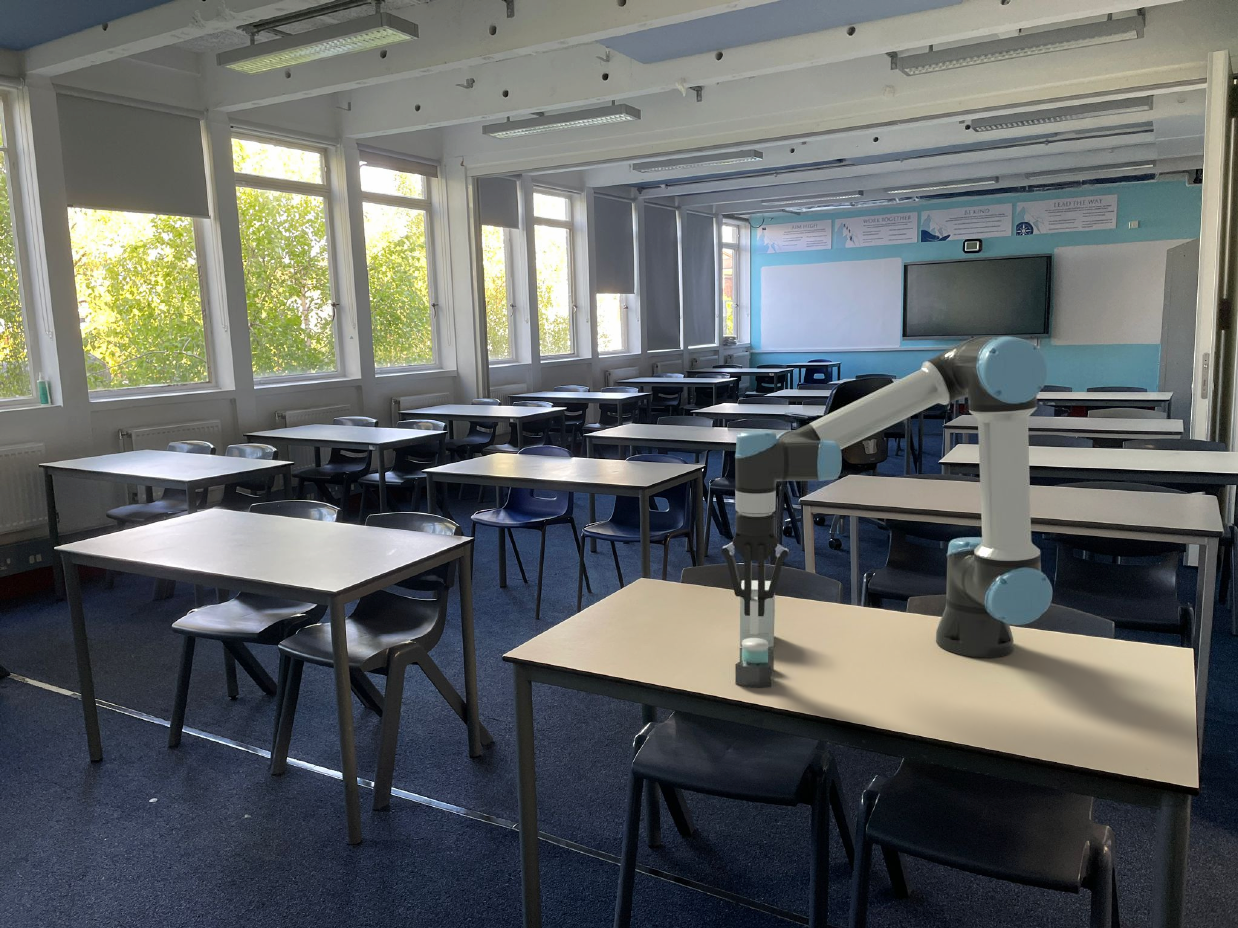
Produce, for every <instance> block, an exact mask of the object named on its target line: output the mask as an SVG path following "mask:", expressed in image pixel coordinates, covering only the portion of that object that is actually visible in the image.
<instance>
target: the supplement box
mask: <svg viewBox="0 0 1238 928" xmlns="http://www.w3.org/2000/svg"><path fill="white" fill-rule="evenodd" d="M770 582H771V580H765V591H767V590H769V586H770ZM740 583H741V587H742V589H744V579H743V580H741V582H740ZM751 593H752V594H751V597H758V580H752V591H751ZM775 605H776V592H775V593H774V597H773V598H768V599H766V600H765V613H764V616H763V617H761V616H759V631H758V634H750V616H745V614H744V599H743V598H742V597H739V645H740V646H742V641H743V640H744V639H748V638H760V639H764V640H766V641H767V642H768V648H773V647H774V643H775V615H776V614H775V612H776V610H775V609H776V608H775V607H776V606H775Z"/></svg>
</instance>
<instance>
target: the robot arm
mask: <svg viewBox="0 0 1238 928" xmlns="http://www.w3.org/2000/svg"><path fill="white" fill-rule="evenodd" d="M921 365H922V366H921V368H920V369H919V370H917V371H915V372H912V373H911V374H908V375H906V376H905V377H902V378H901V379H897V380H896V381H894V382H892V383H890V384H888V385H885V386H884V387H881V388H879V389H878V390H877V389H876V391H874V392H871V393H869V394H868V395H866V396H863V397H861V398H859V399H857V400H855V401H852V402H851V403H849V404H847V405H845V406H842V407H840V408H839V409H837V410H834V411H832V412H830V413H829V414H826V415H824V416H822V417H820V418H818V419H816V420H814V421H812V422H810V423H809V424H806V425H804V426H801V427H800V428H797V429H795V430H787V431H783V432H781V433H779V434H777V433H776V432H775V431H772V430H764V429H763V430H760V429H758V430H757V429H751V430H750V429H749V430H744V431H741V432H739V433H738V434H737V435H736V445H735V454H734V458H735V490H734V491H735V492H734V493H735V497H734V498H735V501H734V502H735V503H734V505H735V506H734V507H735V509H734V510H735V511H737V512H736V513H735V514H734V515H735V516H734V518H735V522H734V525H735V526H734V527H735V528H734V533H735V534H734V537H733V539H732V541H731V542H730V543H729V544H727V545H723V546H722V548H721V554H722V556H723V557H724V558H725V560H726V564H727V568H728V572H729V577H730V580H731V584H732V588H733V592H734V595H735V597H737V598H738V597H739V598H740V597H742V598H743V599H744V614H745V616H750V634H758V631H759V616H761V617H763V616H764V613H765V600H766V599H768V598H773V597H774V593H775V594H776V589H777V585H778V581H779V579H780V578H779V577H780V575H781V570H782V567H783V563H784V562H785V560H786V559H787V557H788V556H789V551H790V549H789V548H788V547H783V545H781V544H780V543H778V542H779V540H778V538H777V535H776V514H775V513H774V512H775V511H776V499H777V498H776V497H777V496H776V495H777V494H776V491H777V490H776V485H777V482H787V481H790V482H795V481H796V482H801V481H802V482H803V481H805V482H806V481H808V482H809V481H810V482H811V481H812V482H814V481H816V482H817V481H819V482H823V481H831V480H832V481H833V480H836V479H838V478H839V476H840V474H841V471H842V465H843V464H842V463H843V461H842V459H843V457H842V456H843V455H842V450H843V449H845V448H847V447H848V446H851V445H853V444H855V443H857V442H859V441H861V440H864V439H866V438H867V437H868V438H869V436H872V435H874V434H876V433H879V432H880V431H882V430H884V429H886V428H889V427H891V426H893V425H895V424H897V423H899V422H902V421H903V420H905V419H907V418H910V417H911V416H914V415H915V414H918V413H920V412H921V411H924V410H926V409H928V408H930V407H932V406H934V405H936V404H940V405H944V406H945V405H948V404H950V403H952V402H954V401H957V400H961V399H964V398H968V411H969V413H970V414H971V415H973V417H975V418H976V419H977V427H978V428H977V429H978V432H977V433H978V454H979V455H978V457H979V461H978V462H979V484H980V509H981V510H980V511H981V512H980V513H981V514H980V515H981V517H980V518H981V537H980V536H977V537H974V536H973V537H972V536H970V537H957V538H954V539H951V540H950V541H949V543H948V548H947V553H946V557H947V558H946V560H947V563H946V596H945V598H946V599H945V601H946V602H945V609H944V611H943V613H942V616H941V618H940V621H939V623H938V625H937V629H936V632H935V643H936V644H937V645H938V646H939V647H940V648H941V649H943V650H946V651H948V652H950V653H953V654H957V655H961V656H967V657H975V658H999V657H1005V656H1007V655H1009V654H1011V653H1012V652H1013V651H1014V640H1015V639H1014V636H1013V632H1012V630H1011V626H1010V625H1012V626H1022V625H1026V624H1029V623H1032V622H1035V621H1036V620H1038V619H1039V618H1040V617H1041V616H1042V615H1043V614H1044V613H1045V612H1046V611H1047V610H1048V609H1049V607H1050V604H1051V603H1052V599H1053V587H1052V583H1051V582H1050V579H1048V576H1047V575H1046V574H1045V573H1044V572H1042V568H1041V567H1042V564H1041V562H1042V561H1041V558H1042V557H1041V549H1040V548H1038V547H1037V546H1036V545H1035V544H1033V542H1032V529H1031V527H1032V525H1031V522H1032V520H1031V519H1032V517H1031V491H1030V489H1031V487H1030V483H1031V482H1030V481H1031V479H1030V448H1029V447H1030V446H1029V441H1030V440H1029V418H1030V416H1031V414H1033V413H1034V412H1035V410H1037V409H1038V406H1037V405H1038V402H1037V401H1038V397H1037V396H1038V395H1039V393H1040V391H1042V389H1043V388H1044V387H1045V385H1046V381H1047V379H1048V364H1047V360H1046V358H1045V356H1044V354H1043V353H1042V351H1041V349H1039V348H1038V346H1036V345H1035V344H1034V343H1032V342H1031V341H1029V340H1026V339H1024V338H1019V337H1014V336H1011V335H1009V336H1006V335H1003V336H977V337H972V338H969V339H967V340H964V341H961V342H960V343H958V344H956V345H954V346H952V347H951V348H949V349H947V350H944V351H943V352H941V353H940V354H937V355H936V356H934V357H932V358H930V359H928V360H925V361H924V362H922V364H921ZM735 549H736V550H735ZM735 551H737V553H739V555H740V556H741V558H742V559H744V560H743V562H744V563H743V565H744V568H743V569H744V571H743V572H744V579H743V580H744V589H742V587H741V583H742V582H741V578H740V575H739V571H738V567H737V563H736V559H735V555H734V554H735ZM774 551H775V557H776V561H775V565H774V568H773V572H772V576H771V580H770V581H771V582H770V586H769V590H767V591H765V581H766V560H767V559H768V558H769V557H770V556H771V554H772V553H773V552H774ZM753 561H757V581H758V597H751V594H752V593H751V591H752V577H753V576H752V575H753V574H752V569H753V568H752V567H753Z"/></svg>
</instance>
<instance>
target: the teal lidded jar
mask: <svg viewBox="0 0 1238 928" xmlns="http://www.w3.org/2000/svg"><path fill="white" fill-rule="evenodd" d="M741 648H742V661H745V662H749V663H764V662H767V663H768V649H769V647H768V642H767V641H766V640H764V639H760V638H748V639H744V640H743V641H742V645H741Z"/></svg>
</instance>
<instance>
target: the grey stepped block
mask: <svg viewBox="0 0 1238 928" xmlns="http://www.w3.org/2000/svg"><path fill="white" fill-rule="evenodd" d="M774 652H775V650H774V649H772V648H768V663H767V662H764V663H749V662H745V661H742V647H739V662H737V663H735V664H734V665H735V666H734V667H735V672H734V673H735V685H737V686H738V685H739V686H742V687H745V688H757V689H762V688H770V687H772V671H773V670H774V669H775V667H774V666H775V664H774V663H775V658H774V657H775V653H774Z"/></svg>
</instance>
